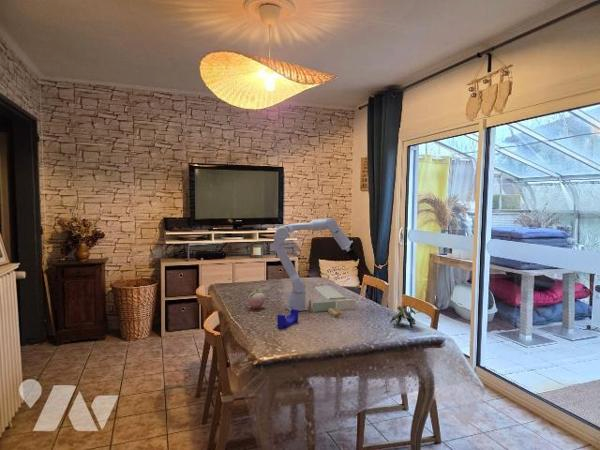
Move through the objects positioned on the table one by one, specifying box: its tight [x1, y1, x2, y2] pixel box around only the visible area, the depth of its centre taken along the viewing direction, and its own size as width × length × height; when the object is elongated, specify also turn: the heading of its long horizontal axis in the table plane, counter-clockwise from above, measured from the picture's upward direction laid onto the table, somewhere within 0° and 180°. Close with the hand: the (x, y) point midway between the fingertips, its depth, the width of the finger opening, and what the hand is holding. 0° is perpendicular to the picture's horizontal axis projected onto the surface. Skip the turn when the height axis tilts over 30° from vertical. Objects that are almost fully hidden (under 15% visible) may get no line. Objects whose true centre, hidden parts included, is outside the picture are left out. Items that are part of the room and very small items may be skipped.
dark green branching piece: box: [387, 305, 417, 328], centre depth 171 cm, size 11×11×12 cm
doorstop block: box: [327, 308, 344, 319], centre depth 189 cm, size 4×10×2 cm, turn 15°
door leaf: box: [312, 300, 337, 313], centre depth 195 cm, size 12×2×4 cm, turn 108°
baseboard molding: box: [312, 283, 346, 300], centre depth 235 cm, size 31×3×12 cm
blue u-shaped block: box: [276, 309, 299, 330], centre depth 172 cm, size 12×4×6 cm, turn 148°
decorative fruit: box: [247, 289, 267, 310], centre depth 198 cm, size 9×8×10 cm
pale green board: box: [308, 298, 356, 314], centre depth 196 cm, size 25×1×6 cm, turn 108°
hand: (356, 259), depth 198 cm, fingers open, 7 cm apart
